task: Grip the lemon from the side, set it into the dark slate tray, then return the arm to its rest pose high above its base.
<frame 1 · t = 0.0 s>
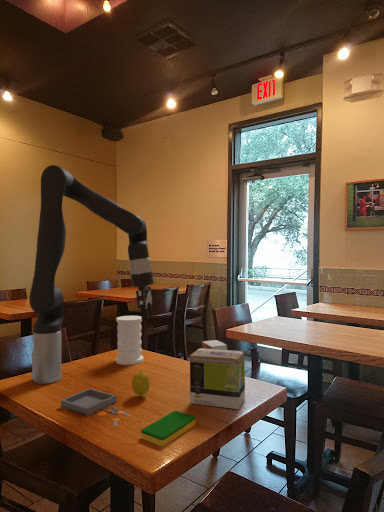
hand: (147, 317, 127), 22 cm above the table, tool pointing down, fingers open, 8 cm apart
lemon: (140, 397, 114), on the table
decorative container: (129, 361, 152), on the table
dish sponge: (169, 433, 92), on the table
tray: (88, 404, 108), on the table
key chain: (113, 416, 101), on the table
tea box: (217, 401, 111), on the table
small box: (214, 379, 130), on the table
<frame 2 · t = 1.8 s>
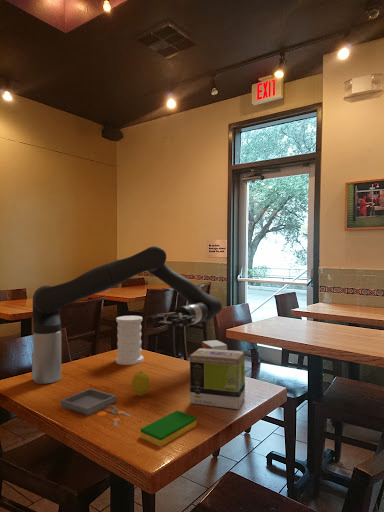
hand: (162, 322, 123), 22 cm above the table, tool horizontal, fingers open, 8 cm apart
nothing on the table moved.
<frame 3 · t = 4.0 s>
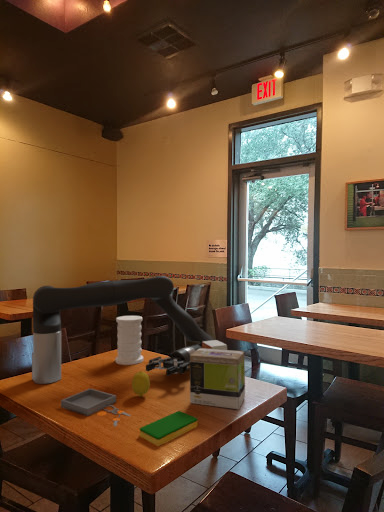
hand: (156, 370, 121), 6 cm above the table, tool horizontal, fingers open, 8 cm apart
nothing on the table moved.
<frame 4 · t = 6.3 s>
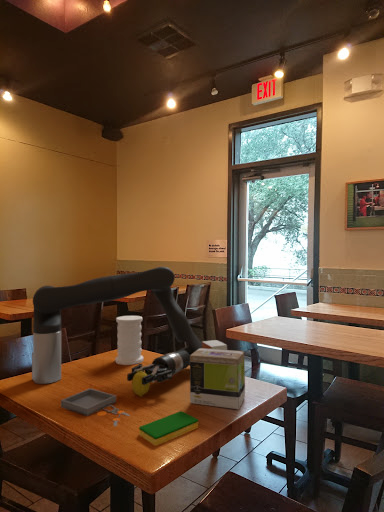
hand: (135, 379, 112), 6 cm above the table, tool horizontal, fingers closed on lemon, 5 cm apart
lemon: (140, 397, 114), on the table, touching gripper
everything else where it was.
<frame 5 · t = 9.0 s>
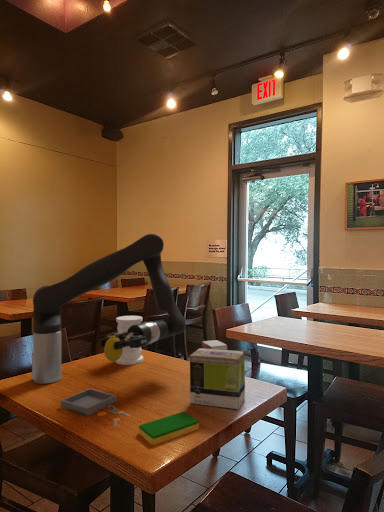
hand: (107, 344, 109), 18 cm above the table, tool horizontal, fingers closed on lemon, 5 cm apart
lemon: (113, 363, 111), point 11 cm above the table, touching gripper
when the fingers open (8 cm above the table, at t = 12.0 s): lemon drops 1 cm, resting on tray.
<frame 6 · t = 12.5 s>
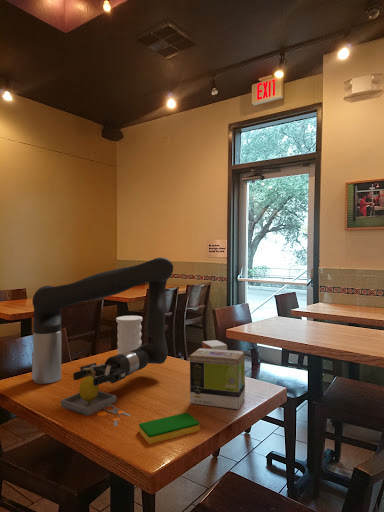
hand: (83, 379, 106), 8 cm above the table, tool horizontal, fingers open, 8 cm apart
lemon: (89, 403, 108), resting on tray
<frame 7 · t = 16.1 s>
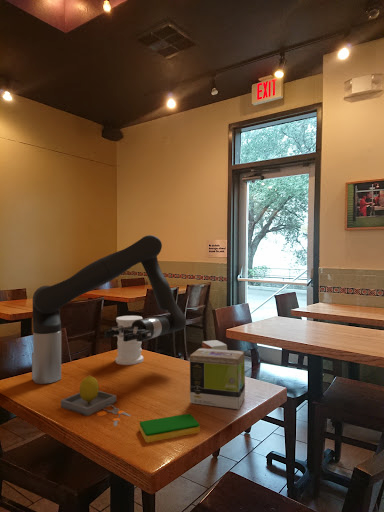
hand: (114, 336, 117), 18 cm above the table, tool horizontal, fingers open, 8 cm apart
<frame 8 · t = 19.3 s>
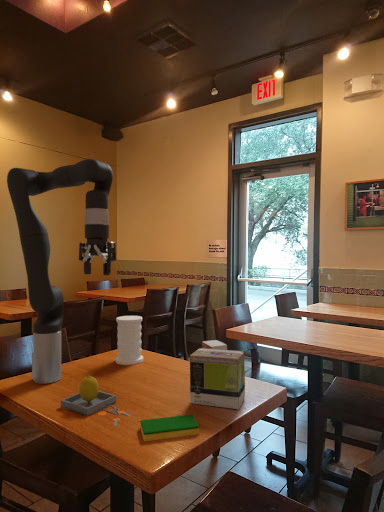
hand: (97, 274, 116), 38 cm above the table, tool pointing down, fingers open, 8 cm apart
at the end: lemon inside the target area on the tray (0.2 cm from its centre), point 0.3 cm above the tray's base; lemon touching tray; the gripper is holding nothing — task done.
